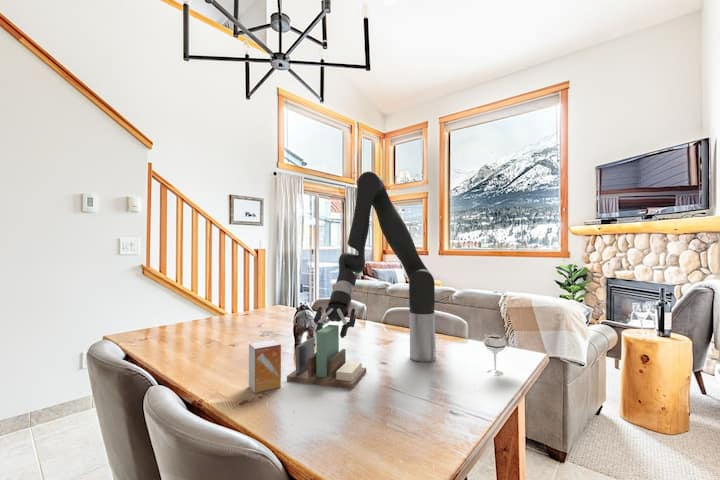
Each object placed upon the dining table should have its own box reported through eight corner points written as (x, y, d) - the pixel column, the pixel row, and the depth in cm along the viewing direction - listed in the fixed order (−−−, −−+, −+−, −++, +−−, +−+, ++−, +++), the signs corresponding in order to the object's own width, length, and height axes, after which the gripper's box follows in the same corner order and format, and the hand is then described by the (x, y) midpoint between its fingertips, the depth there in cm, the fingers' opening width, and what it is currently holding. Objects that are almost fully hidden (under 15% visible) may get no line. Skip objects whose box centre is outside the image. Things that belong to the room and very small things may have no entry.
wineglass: (505, 370, 115) (505, 334, 116) (507, 377, 109) (506, 339, 109) (484, 368, 118) (483, 332, 118) (484, 375, 111) (484, 338, 111)
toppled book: (361, 369, 113) (361, 362, 113) (351, 381, 103) (351, 373, 103) (347, 368, 114) (347, 361, 114) (336, 379, 105) (336, 371, 105)
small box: (254, 394, 99) (254, 348, 99) (248, 386, 104) (248, 343, 104) (281, 387, 103) (281, 344, 103) (274, 380, 108) (274, 339, 109)
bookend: (314, 364, 119) (314, 338, 119) (299, 375, 108) (299, 347, 108) (311, 363, 119) (311, 337, 119) (295, 375, 109) (295, 346, 109)
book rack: (366, 372, 114) (366, 349, 115) (352, 389, 101) (352, 363, 101) (306, 366, 121) (306, 344, 121) (286, 380, 108) (286, 357, 108)
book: (338, 366, 116) (338, 325, 116) (326, 377, 106) (326, 332, 107) (329, 365, 117) (329, 324, 117) (316, 376, 107) (316, 331, 108)
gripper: (320, 289, 124) (306, 328, 113) (358, 290, 120) (347, 331, 108) (326, 301, 129) (313, 340, 118) (362, 303, 125) (352, 343, 113)
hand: (329, 335), depth 113 cm, fingers open, 8 cm apart
